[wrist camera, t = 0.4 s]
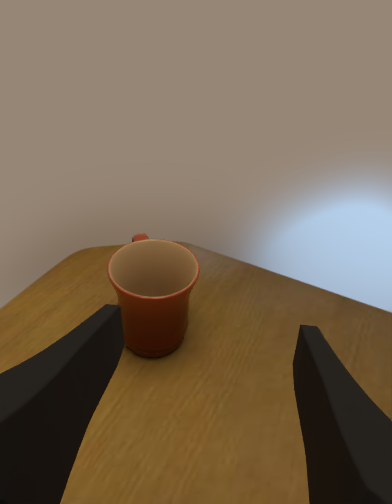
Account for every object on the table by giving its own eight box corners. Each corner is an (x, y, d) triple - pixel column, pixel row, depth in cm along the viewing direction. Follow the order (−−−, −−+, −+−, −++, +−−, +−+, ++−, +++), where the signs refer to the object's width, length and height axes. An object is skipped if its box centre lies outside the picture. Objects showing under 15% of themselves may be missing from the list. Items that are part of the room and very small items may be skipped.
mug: (202, 357, 37) (213, 288, 31) (120, 377, 34) (114, 306, 28) (172, 283, 46) (175, 218, 40) (105, 294, 43) (97, 226, 37)
